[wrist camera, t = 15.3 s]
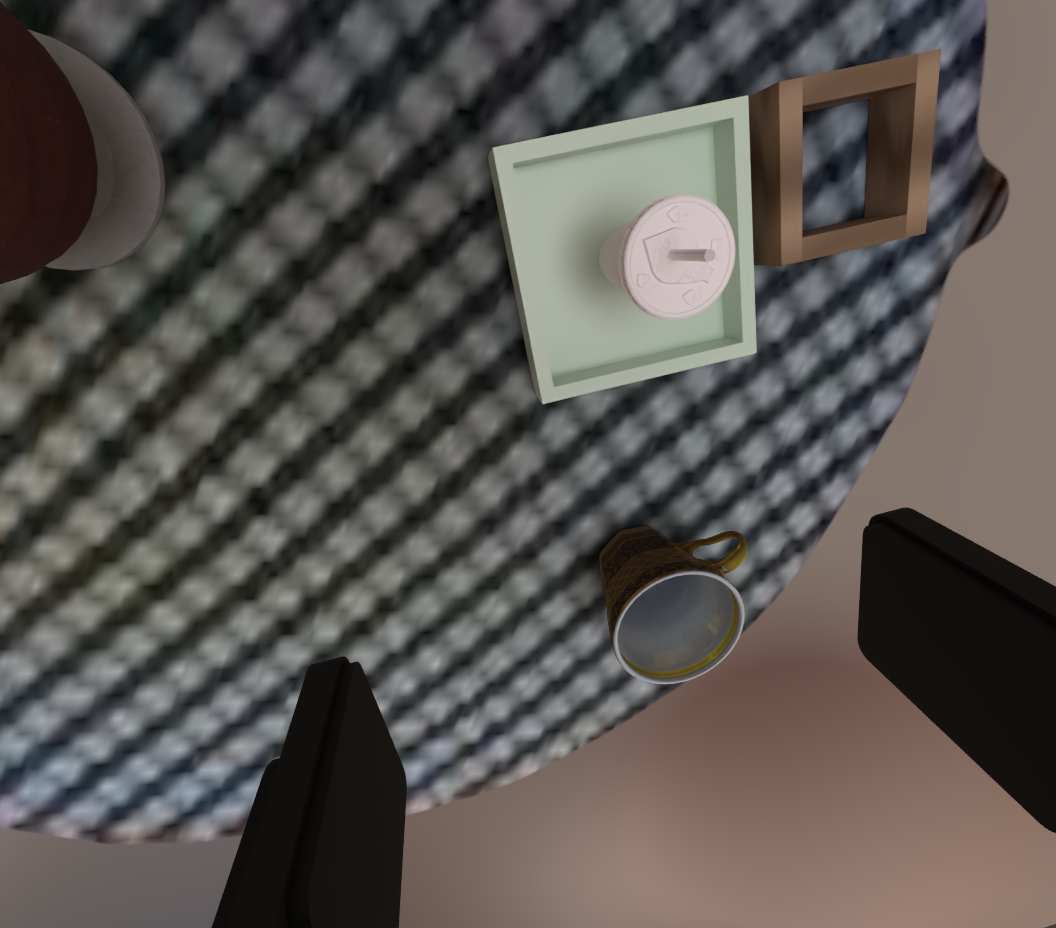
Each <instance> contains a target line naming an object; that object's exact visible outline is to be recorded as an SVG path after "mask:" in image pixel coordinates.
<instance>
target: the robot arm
mask: <svg viewBox="0 0 1056 928" xmlns="http://www.w3.org/2000/svg"><path fill="white" fill-rule="evenodd" d="M862 543H863V544H862V561H861V581H860V582H861V583H860V600H859V619H858V644H859V647H860V649H861V652H862V653H863V655H864V656H865V657H866V659H867V660H868V661H869V662H870V663H872V665H874V666H875V667H876V668H877V669H878V670H879V671H880V672H881V673H882V674H883V675H884V676H885V677H886V678H887V679H888V680H889V681H890V682H891V683H893V684H894V685H895V686H896V687H897V688H898V689H899V690H900V691H901V692H902V693H903V694H904V695H905V696H906V697H907V698H908V699H909V700H910V701H911V702H913V703H914V704H915V705H916V706H917V707H918V708H919V709H920V710H921V711H922V712H923V713H924V714H925V715H926V716H927V717H928V718H929V719H930V720H931V721H932V722H934V723H935V724H936V725H937V726H938V727H939V728H940V729H941V730H942V731H943V732H944V733H945V734H946V735H947V736H948V737H949V738H950V739H951V740H953V742H955V743H956V744H957V745H958V746H959V747H960V748H961V749H962V750H963V751H964V752H965V753H966V754H967V755H968V756H969V757H970V758H971V759H973V760H974V761H975V762H976V763H977V764H978V765H979V766H980V767H981V768H982V769H983V770H984V771H985V772H986V773H987V774H988V775H990V777H992V779H994V780H995V781H996V782H997V783H998V784H999V785H1000V786H1001V787H1002V788H1003V789H1004V790H1005V791H1006V792H1007V793H1008V794H1009V795H1010V796H1011V797H1012V798H1014V799H1015V800H1016V801H1017V802H1018V803H1019V804H1020V805H1021V806H1022V807H1023V808H1024V809H1025V810H1026V811H1027V812H1028V813H1029V814H1030V815H1031V816H1033V817H1034V818H1035V819H1036V820H1037V821H1038V822H1039V823H1040V824H1041V825H1043V826H1044V827H1045V828H1047V829H1048V830H1050V831H1052V832H1055V833H1056V587H1055V586H1054V585H1051V584H1050V583H1048V582H1046V581H1044V580H1043V579H1041V578H1039V577H1037V576H1035V575H1033V574H1031V573H1030V572H1028V571H1026V570H1024V569H1022V568H1020V567H1019V566H1017V565H1015V564H1013V563H1011V562H1009V561H1007V560H1006V559H1004V558H1002V557H1000V556H998V555H996V554H995V553H993V552H991V551H989V550H987V549H985V548H984V547H981V546H980V545H978V544H976V543H974V542H972V541H971V540H969V539H967V538H965V537H963V536H961V535H960V534H958V533H956V532H954V531H952V530H950V529H948V528H947V527H945V526H943V525H941V524H939V523H937V522H935V521H934V520H932V519H930V518H928V517H926V516H924V515H923V514H921V513H919V512H917V511H915V510H913V509H910V508H900V509H897V510H893V511H889V512H885V513H881V514H878V515H875V516H873V517H872V518H871V520H870V521H869V525H868V526H866V527H865V529H864V532H863V542H862ZM406 793H407V785H406V776H405V771H404V768H403V765H402V763H401V760H400V758H399V755H398V753H397V751H396V748H395V746H394V743H393V741H392V739H391V736H390V734H389V731H388V729H387V726H386V724H385V722H384V719H383V717H382V714H381V712H380V710H379V707H378V705H377V702H376V700H375V698H374V695H373V693H372V690H371V688H370V686H369V683H368V681H367V678H366V676H365V674H364V671H363V669H362V667H361V665H360V663H359V662H354V663H350V662H349V660H348V659H347V658H346V657H343V656H342V657H339V658H335V659H331V660H327V661H324V662H320V663H316V664H312V665H311V666H309V668H308V670H307V673H306V676H305V679H304V682H303V685H302V689H301V692H300V695H299V698H298V701H297V705H296V708H295V711H294V714H293V717H292V721H291V724H290V727H289V730H288V733H287V737H286V740H285V743H284V746H283V749H282V753H281V756H280V758H279V759H275V760H272V761H271V762H270V763H269V764H268V766H267V767H266V769H265V772H264V774H263V776H262V779H261V782H260V785H259V788H258V791H257V794H256V797H255V800H254V803H253V806H252V809H251V812H250V815H249V818H248V821H247V824H246V827H245V830H244V833H243V836H242V839H241V842H240V845H239V848H238V851H237V854H236V857H235V860H234V863H233V866H232V868H231V872H230V874H229V877H228V881H227V883H226V886H225V890H224V892H223V895H222V899H221V901H220V904H219V907H218V911H217V913H216V916H215V920H214V922H213V925H212V928H399V913H400V896H401V879H402V862H403V845H404V827H405V810H406ZM1045 928H1056V924H1055V925H1051V926H1049V927H1045Z"/></svg>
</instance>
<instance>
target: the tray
mask: <svg viewBox="0 0 1056 928" xmlns="http://www.w3.org/2000/svg"><path fill="white" fill-rule="evenodd" d="M488 162H489V167H490V172H491V177H492V182H493V187H494V192H495V197H496V202H497V207H498V212H499V217H500V222H501V227H502V232H503V237H504V242H505V247H506V252H507V257H508V262H509V267H510V272H511V277H512V282H513V287H514V292H515V297H516V302H517V307H518V312H519V317H520V322H521V327H522V332H523V337H524V342H525V347H526V352H527V357H528V362H529V367H530V372H531V377H532V382H533V387H534V392H535V394H536V395H537V397H538V398H539V400H540V401H541V402H542V404H545V403H549V402H554V401H558V400H562V399H566V398H570V397H575V396H579V395H583V394H587V393H591V392H595V391H600V390H604V389H608V388H612V387H616V386H621V385H625V384H629V383H633V382H637V381H642V380H646V379H650V378H654V377H658V376H662V375H667V374H671V373H675V372H679V371H683V370H688V369H692V368H696V367H700V366H704V365H708V364H713V363H717V362H721V361H725V360H729V359H734V358H738V357H742V356H746V355H750V354H755V353H756V322H755V291H754V259H753V228H752V197H751V165H750V134H749V102H748V95H747V96H743V97H738V98H733V99H728V100H723V101H718V102H713V103H708V104H703V105H699V106H694V107H689V108H684V109H679V110H674V111H669V112H664V113H659V114H654V115H650V116H645V117H640V118H635V119H630V120H625V121H620V122H615V123H610V124H606V125H601V126H596V127H591V128H586V129H581V130H576V131H571V132H566V133H561V134H557V135H552V136H547V137H542V138H537V139H532V140H527V141H522V142H517V143H513V144H508V145H503V146H498V147H493V148H492V150H491V151H490V153H489V155H488ZM673 195H694V196H699V197H702V198H704V199H706V200H708V201H710V202H712V203H713V204H715V205H716V206H717V207H718V208H719V209H720V210H721V211H722V212H723V213H724V215H725V216H726V218H727V219H728V221H729V223H730V225H731V228H732V231H733V235H734V240H735V262H734V267H733V270H732V274H731V276H730V279H729V281H728V283H727V285H726V287H725V288H724V290H723V291H722V293H721V294H720V296H719V297H718V298H717V299H716V300H715V301H714V302H713V303H712V304H711V305H710V306H709V307H707V308H706V309H705V310H703V311H701V312H700V313H698V314H696V315H693V316H691V317H688V318H683V319H660V318H657V317H654V316H651V315H647V314H646V313H644V312H643V311H642V310H640V309H639V308H637V307H636V306H635V305H634V304H633V302H632V301H631V300H630V299H629V297H628V296H627V295H626V293H625V292H624V291H622V290H621V289H620V288H618V287H617V286H615V285H614V284H612V283H611V282H610V281H608V280H607V279H606V278H605V277H604V275H603V274H602V272H601V270H600V267H599V252H600V248H601V246H602V244H603V242H604V241H605V239H606V238H607V237H608V236H609V235H611V234H612V233H614V232H615V231H617V230H619V229H620V228H622V227H624V226H625V225H627V224H629V223H630V222H632V221H633V219H634V218H635V217H636V216H637V215H638V214H639V213H640V212H641V211H642V210H643V209H644V208H645V207H646V206H648V205H650V204H652V203H653V202H655V201H657V200H659V199H661V198H665V197H669V196H673Z"/></svg>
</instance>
